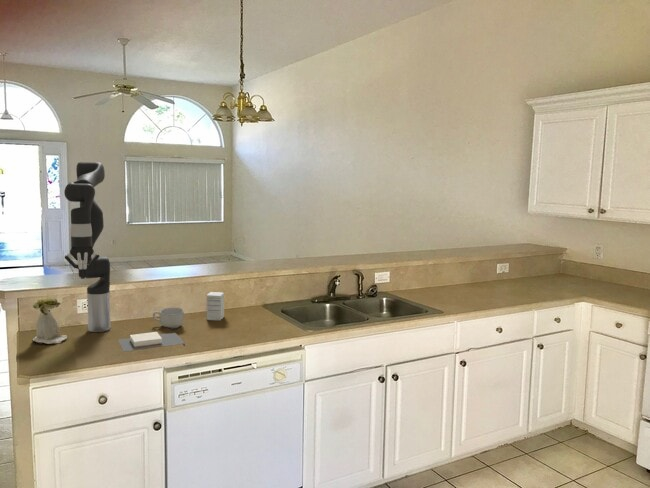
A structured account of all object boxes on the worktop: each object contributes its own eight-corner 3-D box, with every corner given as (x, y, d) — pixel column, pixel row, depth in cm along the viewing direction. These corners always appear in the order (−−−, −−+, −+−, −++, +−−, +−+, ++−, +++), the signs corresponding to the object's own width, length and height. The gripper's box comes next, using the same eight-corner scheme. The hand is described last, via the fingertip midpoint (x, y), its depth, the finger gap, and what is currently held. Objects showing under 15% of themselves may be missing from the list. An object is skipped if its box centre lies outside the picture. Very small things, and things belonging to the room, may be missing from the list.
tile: (130, 334, 215) (157, 331, 220) (130, 340, 215) (157, 337, 220) (134, 341, 206) (162, 338, 211) (134, 347, 206) (162, 343, 212)
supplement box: (210, 316, 258) (210, 291, 257) (224, 316, 258) (224, 292, 256) (206, 320, 251) (206, 295, 249) (220, 320, 251) (221, 295, 249)
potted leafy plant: (47, 347, 206) (45, 303, 203) (25, 342, 211) (22, 299, 208) (72, 339, 217) (70, 296, 214) (50, 334, 222) (48, 293, 219)
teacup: (186, 323, 244) (186, 307, 243) (180, 330, 233) (179, 313, 232) (158, 322, 244) (157, 306, 243) (149, 329, 233) (149, 312, 232)
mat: (118, 341, 215) (118, 339, 215) (175, 334, 227) (175, 332, 227) (123, 353, 202) (123, 351, 201) (184, 345, 213) (184, 343, 213)
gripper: (98, 233, 206) (99, 275, 208) (61, 234, 199) (63, 277, 202) (100, 235, 199) (102, 278, 202) (62, 236, 193) (64, 281, 195)
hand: (82, 278), depth 202 cm, fingers closed
